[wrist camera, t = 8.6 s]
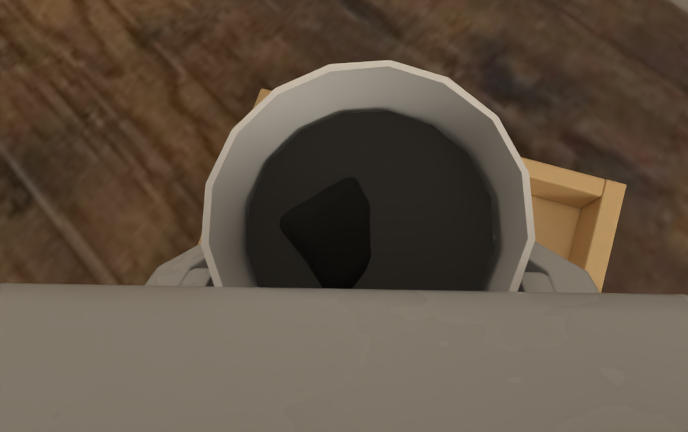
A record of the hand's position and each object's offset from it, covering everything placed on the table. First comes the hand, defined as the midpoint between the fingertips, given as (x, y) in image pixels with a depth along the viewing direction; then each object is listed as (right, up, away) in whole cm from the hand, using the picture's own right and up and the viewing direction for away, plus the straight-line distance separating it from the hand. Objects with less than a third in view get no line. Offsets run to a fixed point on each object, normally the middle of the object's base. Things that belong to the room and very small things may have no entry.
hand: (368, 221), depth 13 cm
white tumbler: (+1, -2, +6) cm, 6 cm away
